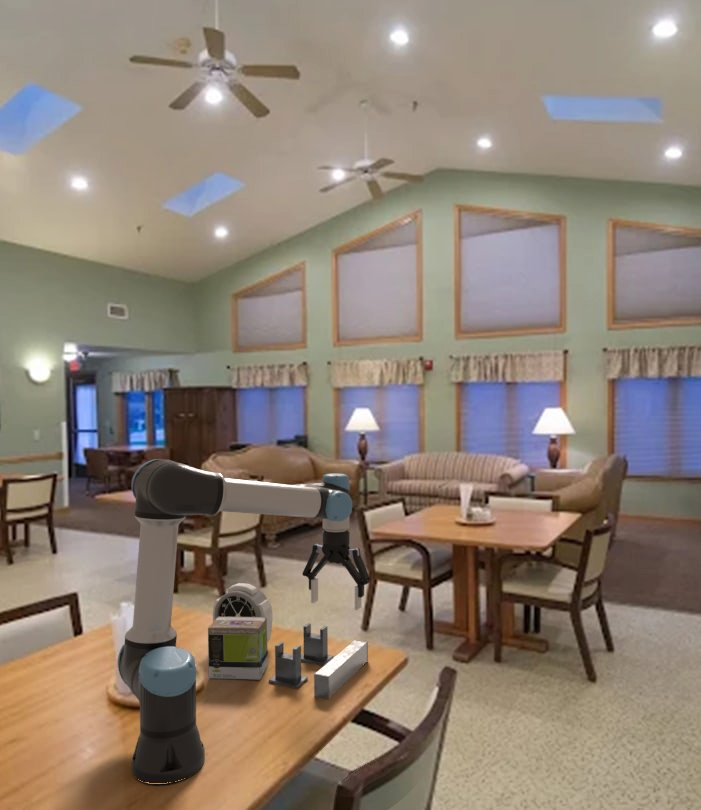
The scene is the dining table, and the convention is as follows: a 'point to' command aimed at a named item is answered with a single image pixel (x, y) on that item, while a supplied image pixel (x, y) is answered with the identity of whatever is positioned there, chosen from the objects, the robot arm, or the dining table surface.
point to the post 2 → (315, 646)
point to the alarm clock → (244, 604)
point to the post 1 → (288, 667)
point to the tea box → (237, 648)
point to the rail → (340, 669)
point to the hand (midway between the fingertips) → (335, 605)
